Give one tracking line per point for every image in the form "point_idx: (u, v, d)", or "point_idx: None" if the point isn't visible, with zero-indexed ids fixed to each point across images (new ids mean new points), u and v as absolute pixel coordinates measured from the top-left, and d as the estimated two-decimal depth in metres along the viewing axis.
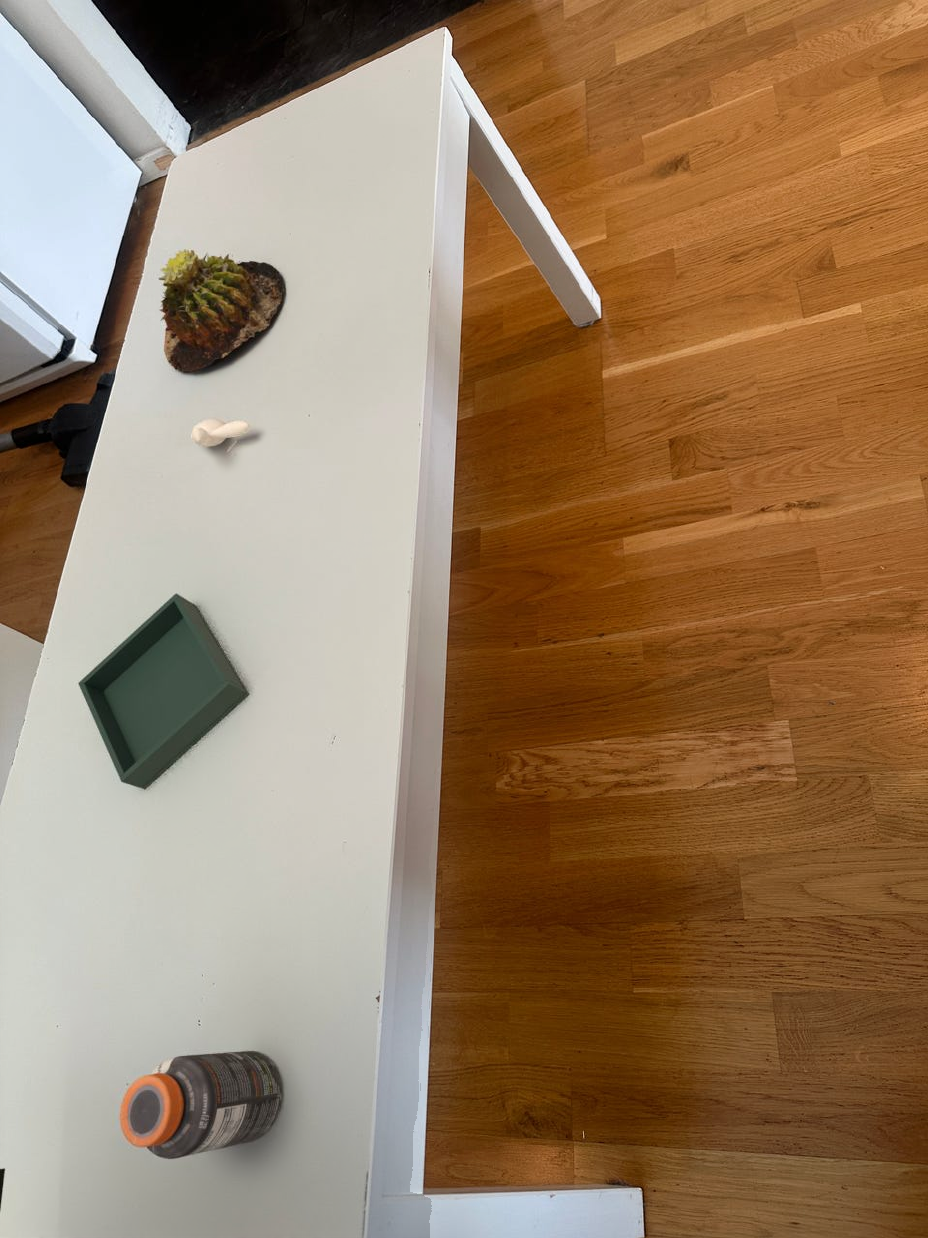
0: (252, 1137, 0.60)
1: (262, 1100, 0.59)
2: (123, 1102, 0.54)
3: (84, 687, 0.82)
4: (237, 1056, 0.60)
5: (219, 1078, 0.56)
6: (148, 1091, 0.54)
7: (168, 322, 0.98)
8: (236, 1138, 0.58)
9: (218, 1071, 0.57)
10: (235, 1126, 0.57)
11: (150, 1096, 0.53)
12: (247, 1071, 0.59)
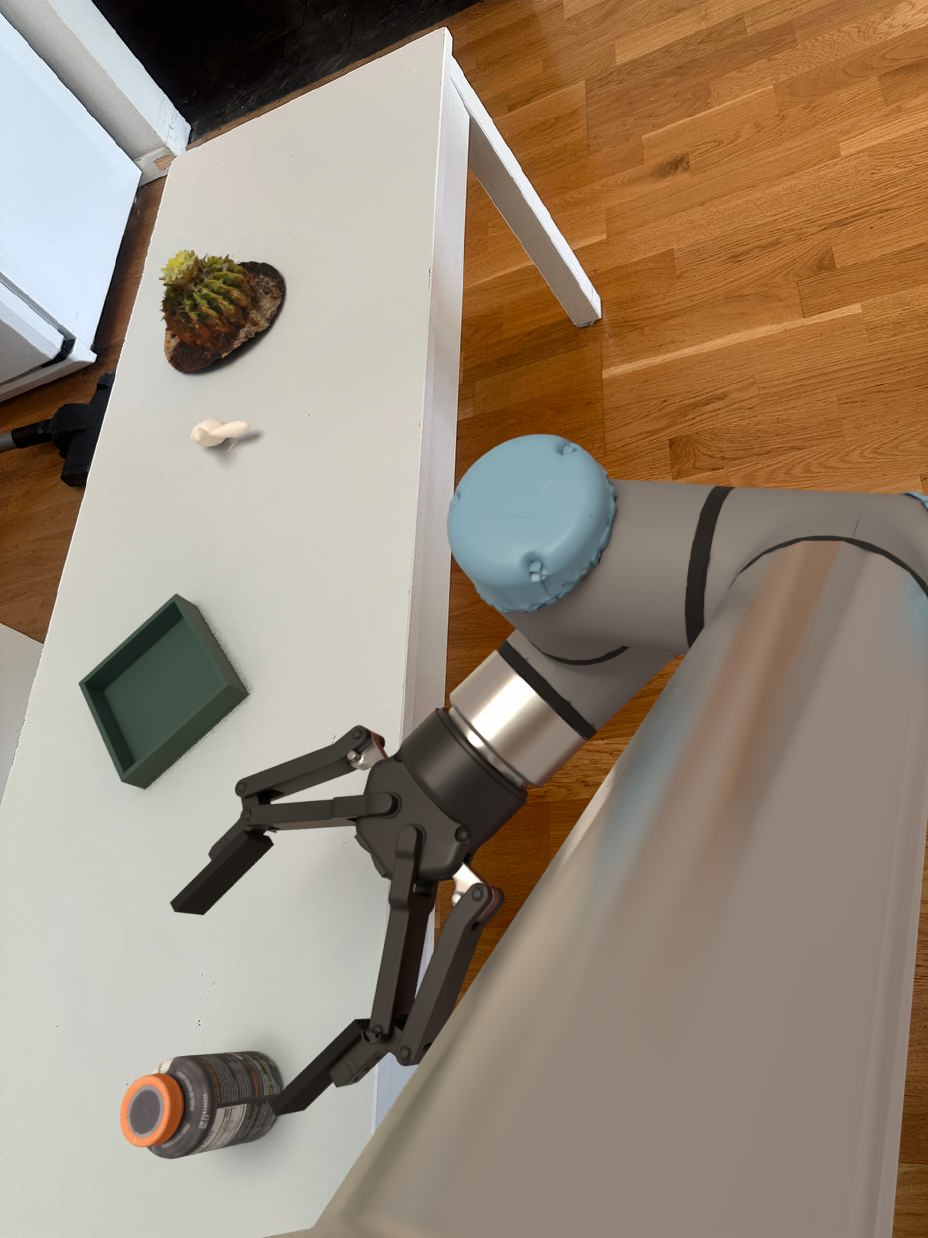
0: (252, 1137, 0.60)
1: (262, 1100, 0.59)
2: (123, 1102, 0.54)
3: (84, 687, 0.82)
4: (237, 1056, 0.60)
5: (219, 1078, 0.56)
6: (148, 1092, 0.54)
7: (168, 322, 0.98)
8: (236, 1138, 0.58)
9: (218, 1071, 0.57)
10: (235, 1126, 0.57)
11: (150, 1096, 0.53)
12: (247, 1071, 0.59)
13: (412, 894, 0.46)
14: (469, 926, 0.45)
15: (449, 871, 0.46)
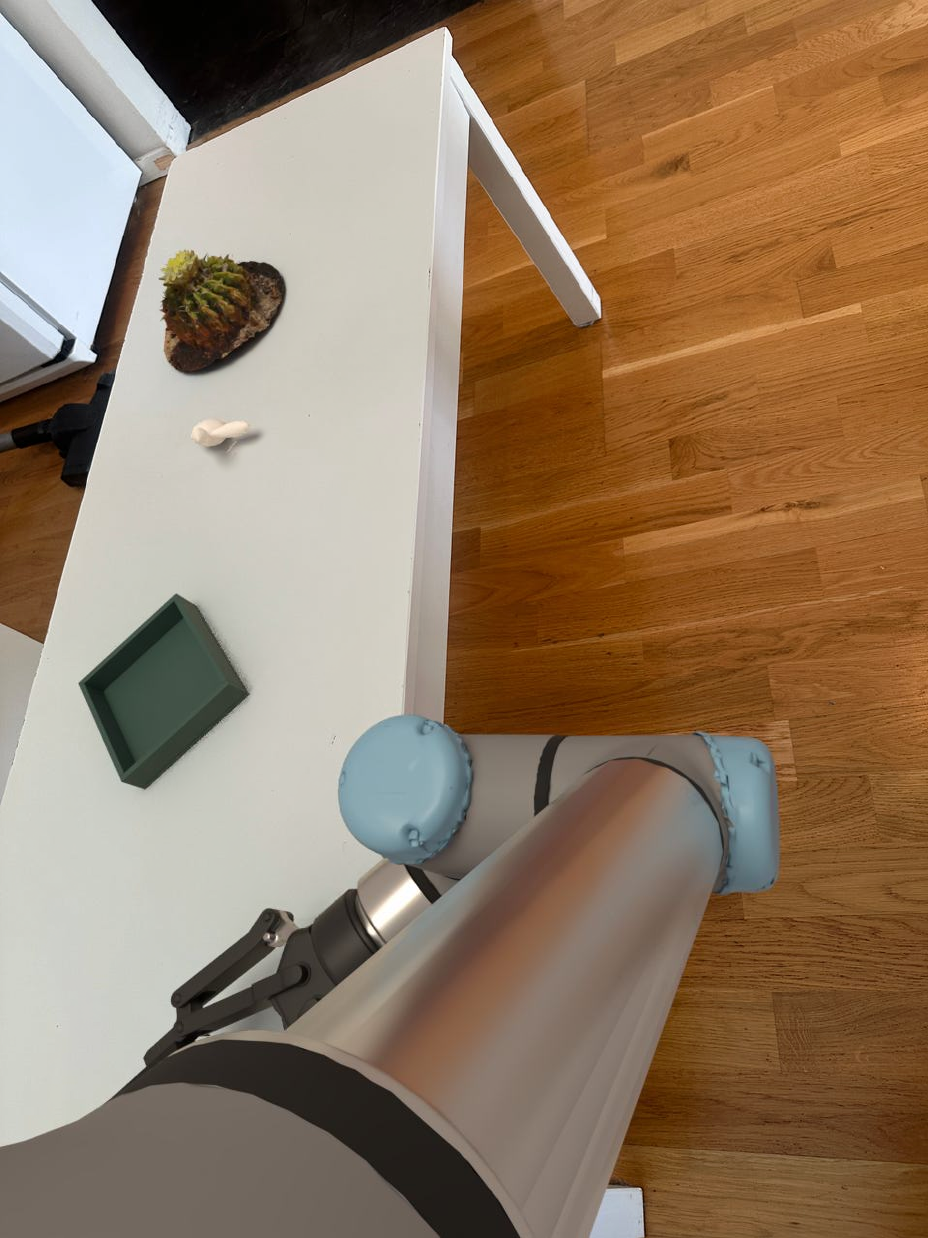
0: None
1: None
2: None
3: (84, 687, 0.82)
4: None
5: None
6: None
7: (168, 322, 0.98)
8: None
9: None
10: None
11: None
12: None
13: None
14: None
15: None
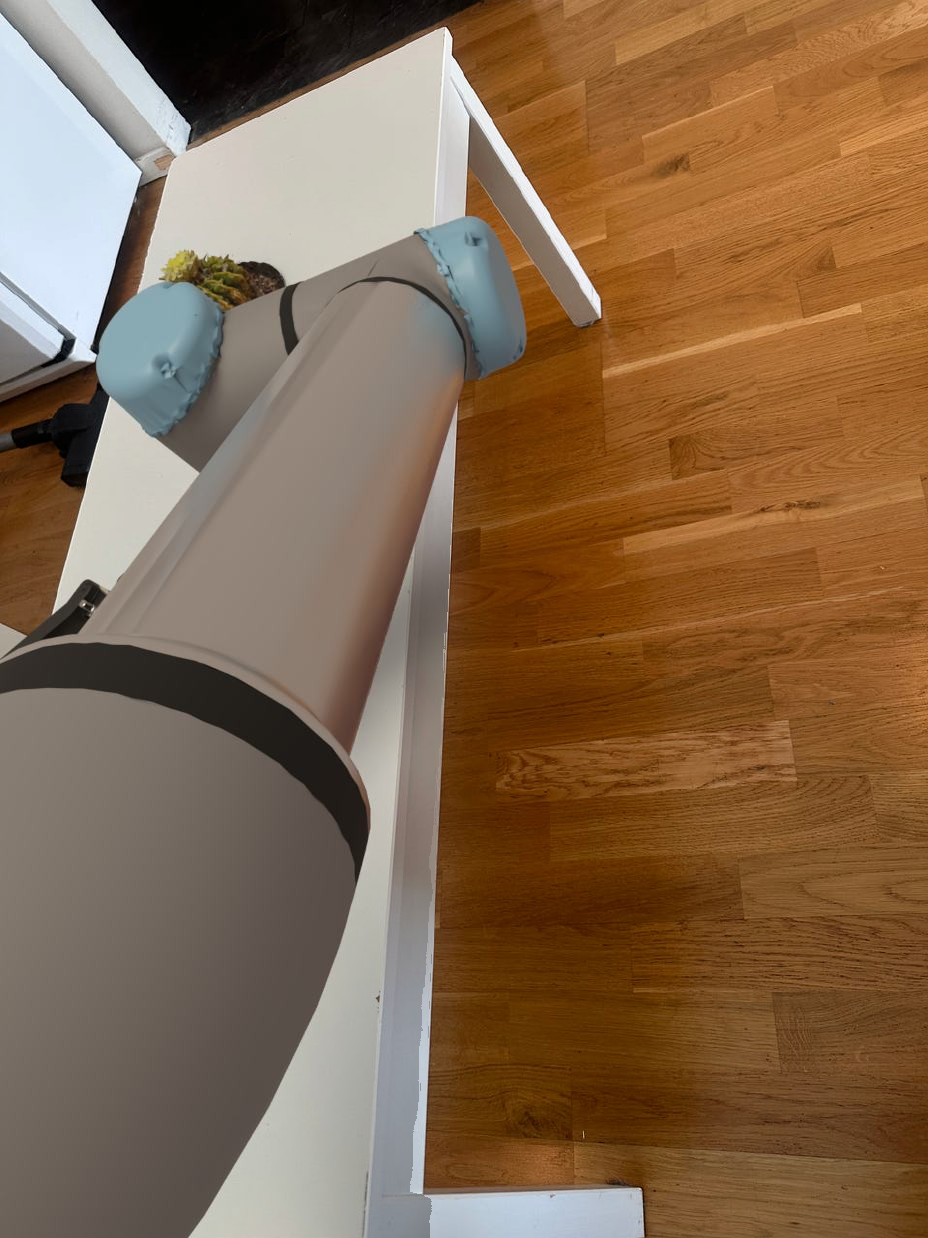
0: None
1: None
2: None
3: None
4: None
5: None
6: None
7: None
8: None
9: None
10: None
11: None
12: None
13: None
14: None
15: None
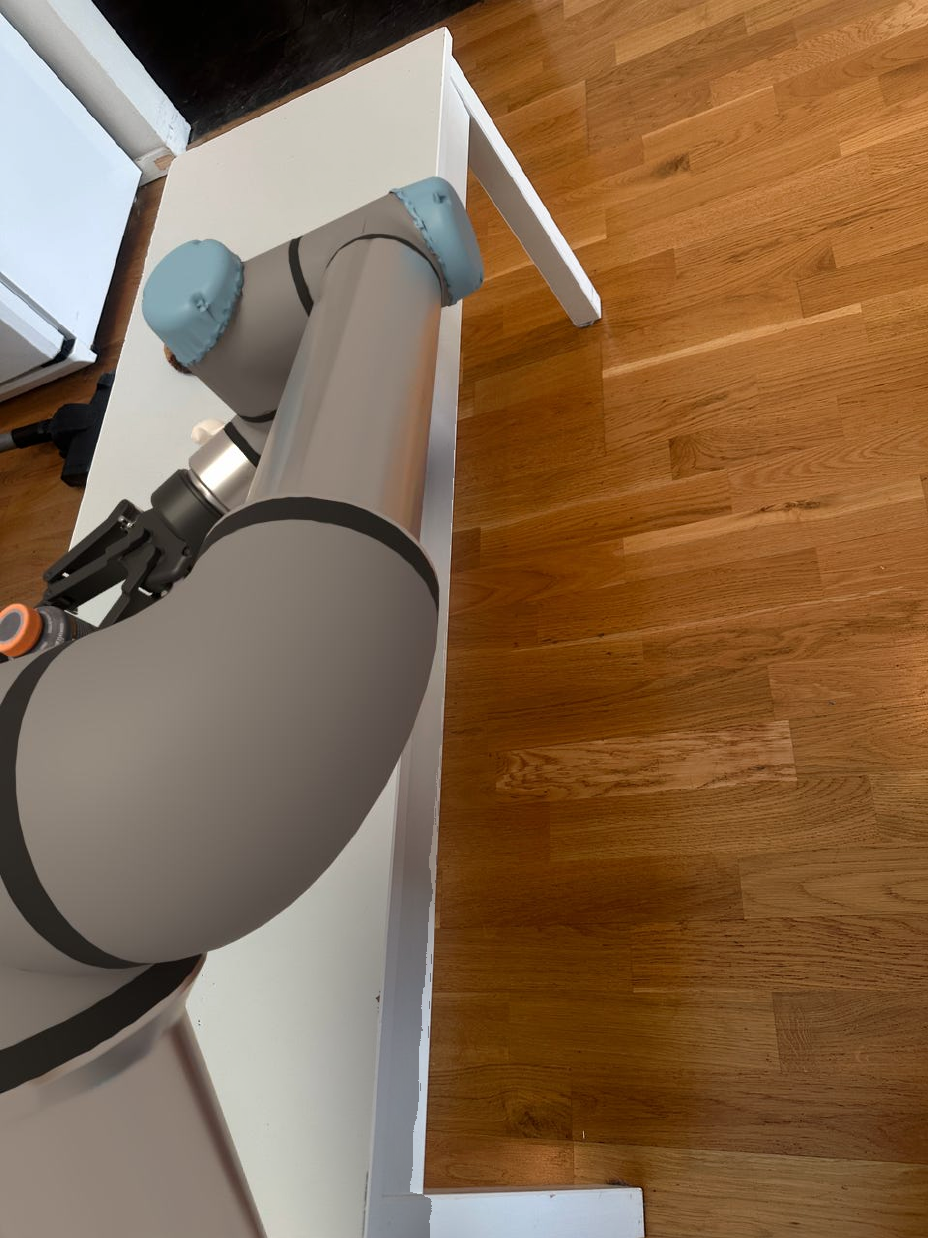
0: None
1: None
2: None
3: None
4: None
5: (77, 622, 0.68)
6: (12, 613, 0.65)
7: None
8: None
9: (77, 619, 0.69)
10: None
11: (13, 615, 0.65)
12: None
13: (137, 589, 0.66)
14: None
15: (171, 577, 0.66)
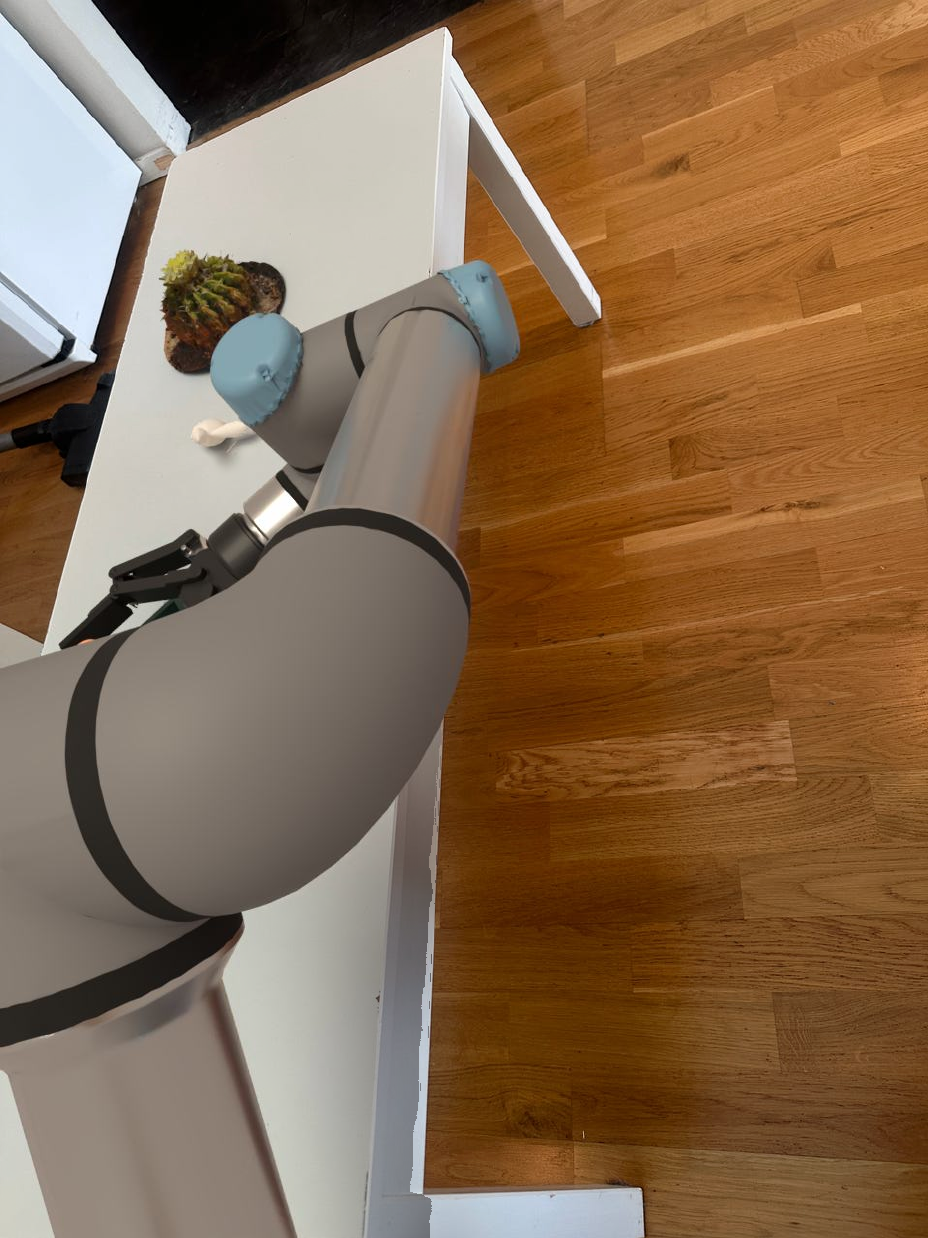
0: None
1: None
2: None
3: None
4: None
5: None
6: None
7: (168, 322, 0.98)
8: None
9: None
10: None
11: None
12: None
13: None
14: None
15: None
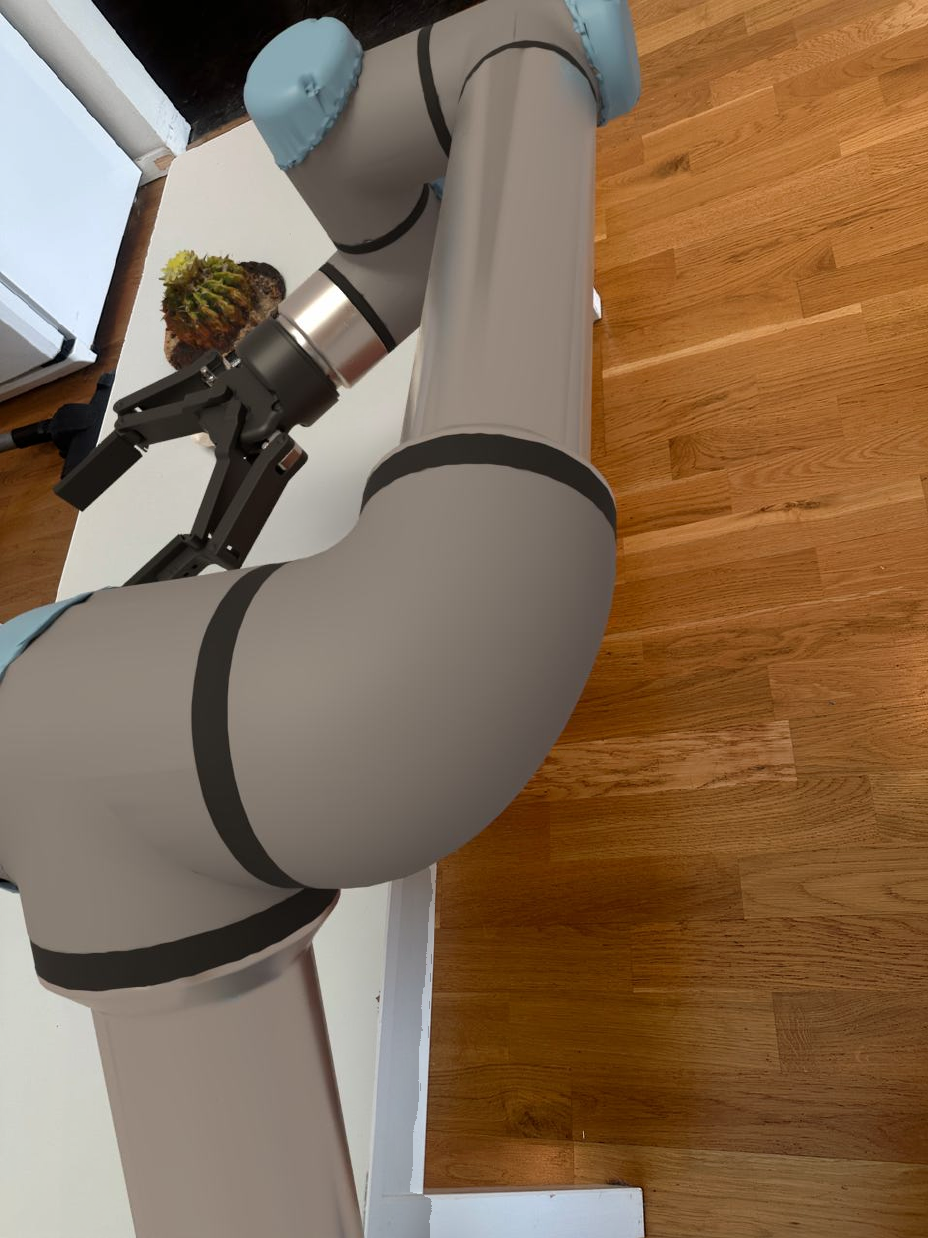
0: None
1: None
2: None
3: None
4: None
5: None
6: None
7: (168, 322, 0.98)
8: None
9: None
10: None
11: None
12: None
13: (233, 448, 0.58)
14: (273, 464, 0.57)
15: (264, 432, 0.58)
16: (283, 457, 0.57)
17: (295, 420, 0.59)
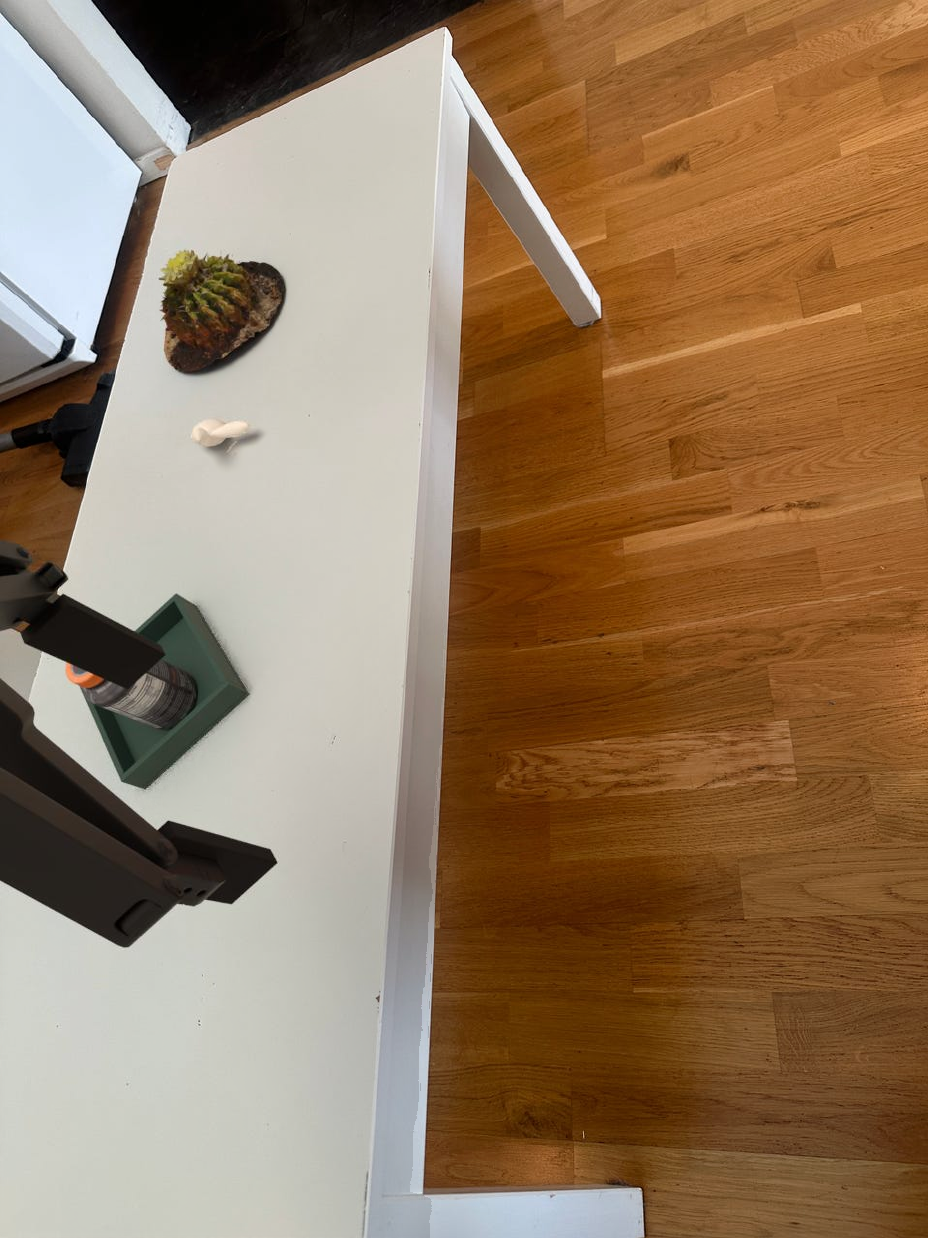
0: (171, 717, 0.77)
1: (178, 687, 0.77)
2: None
3: None
4: None
5: None
6: None
7: (168, 322, 0.98)
8: (157, 707, 0.75)
9: None
10: (155, 694, 0.75)
11: None
12: (167, 665, 0.77)
13: None
14: None
15: None
16: None
17: None
